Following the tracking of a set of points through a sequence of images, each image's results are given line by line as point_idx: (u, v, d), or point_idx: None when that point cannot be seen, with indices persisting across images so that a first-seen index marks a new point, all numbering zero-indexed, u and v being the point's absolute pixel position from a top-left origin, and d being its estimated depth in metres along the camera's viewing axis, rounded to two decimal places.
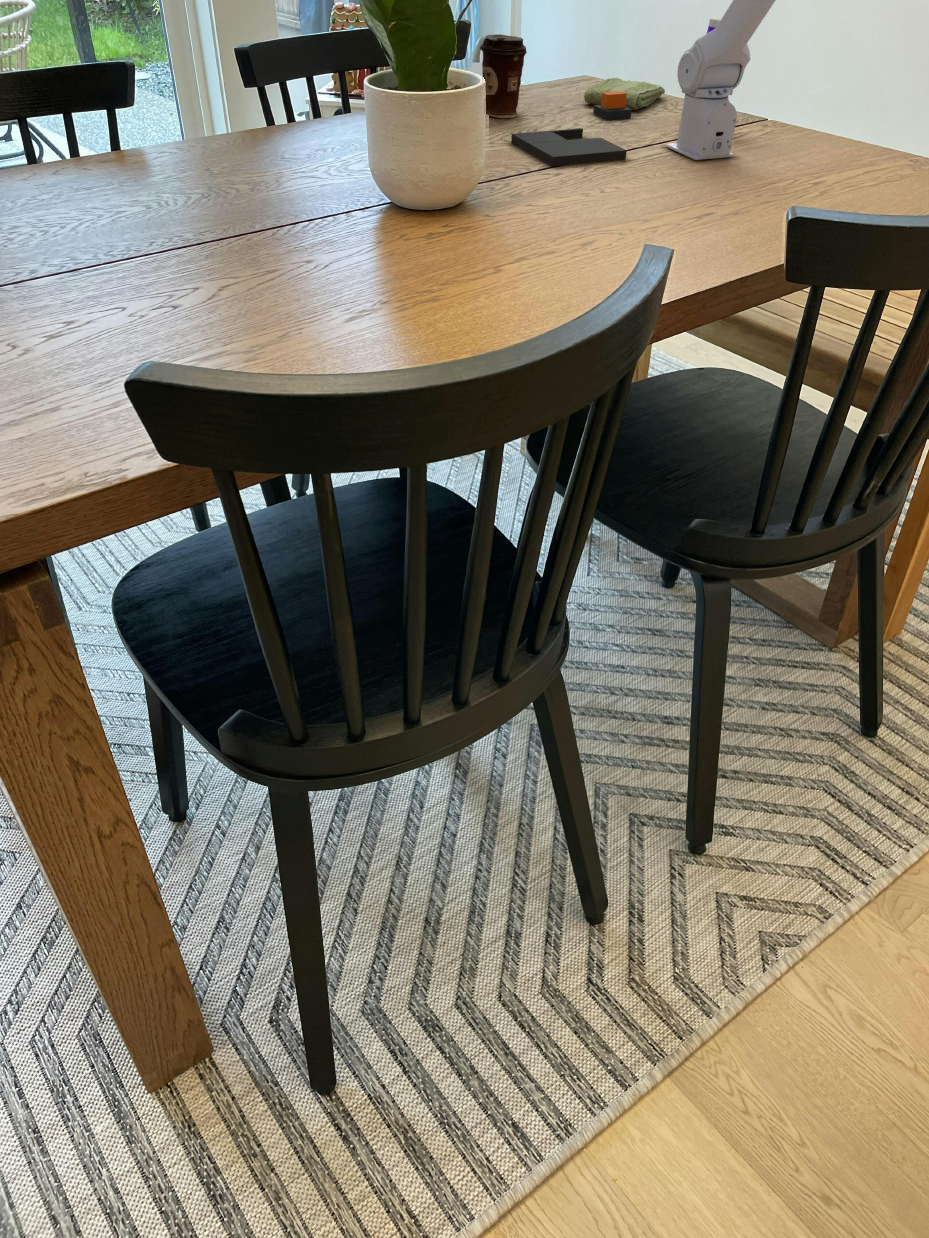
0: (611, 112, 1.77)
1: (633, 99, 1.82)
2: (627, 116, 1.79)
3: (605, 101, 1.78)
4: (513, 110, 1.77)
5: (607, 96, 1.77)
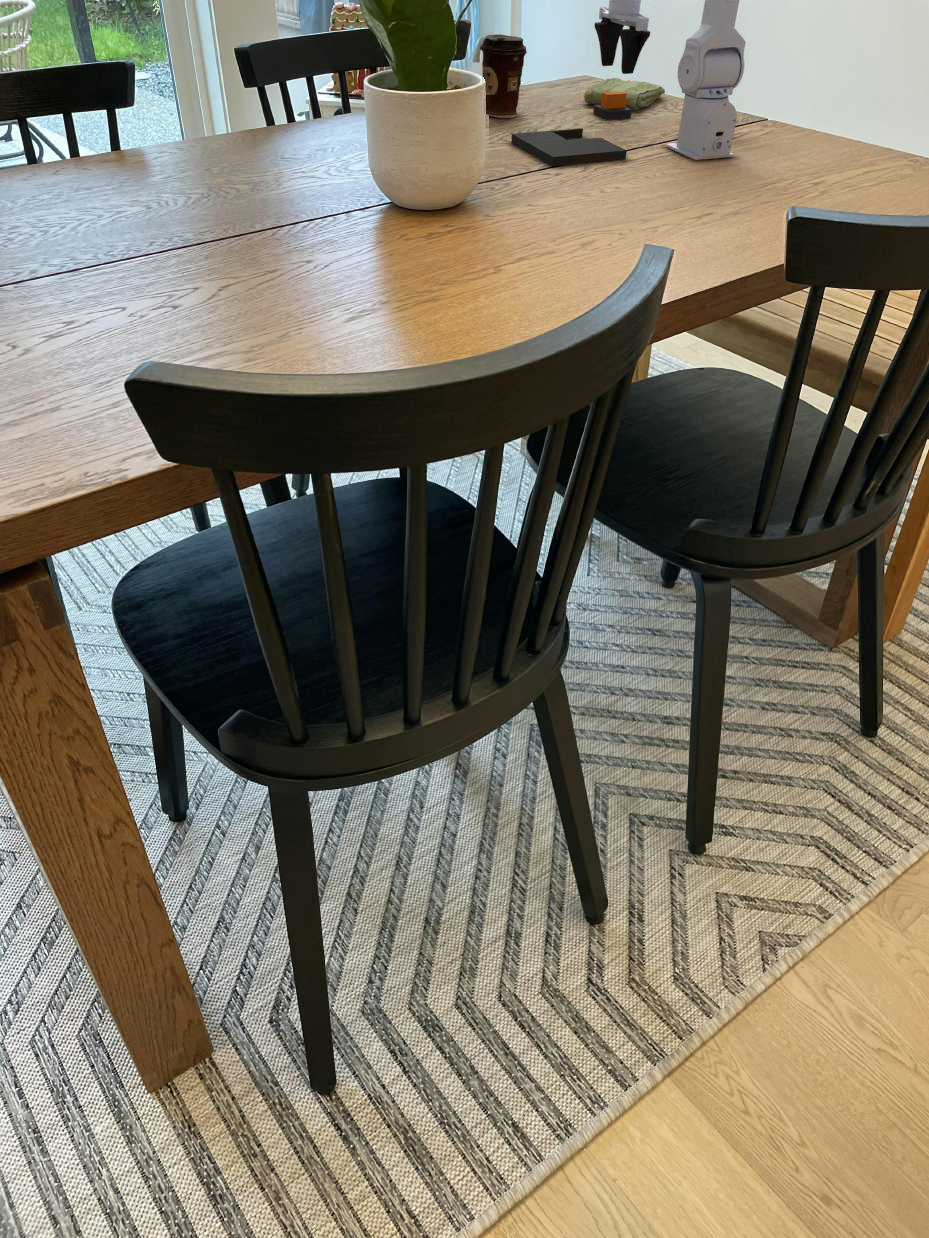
0: (611, 112, 1.77)
1: (633, 99, 1.82)
2: (627, 116, 1.79)
3: (605, 101, 1.78)
4: (513, 110, 1.77)
5: (607, 96, 1.77)
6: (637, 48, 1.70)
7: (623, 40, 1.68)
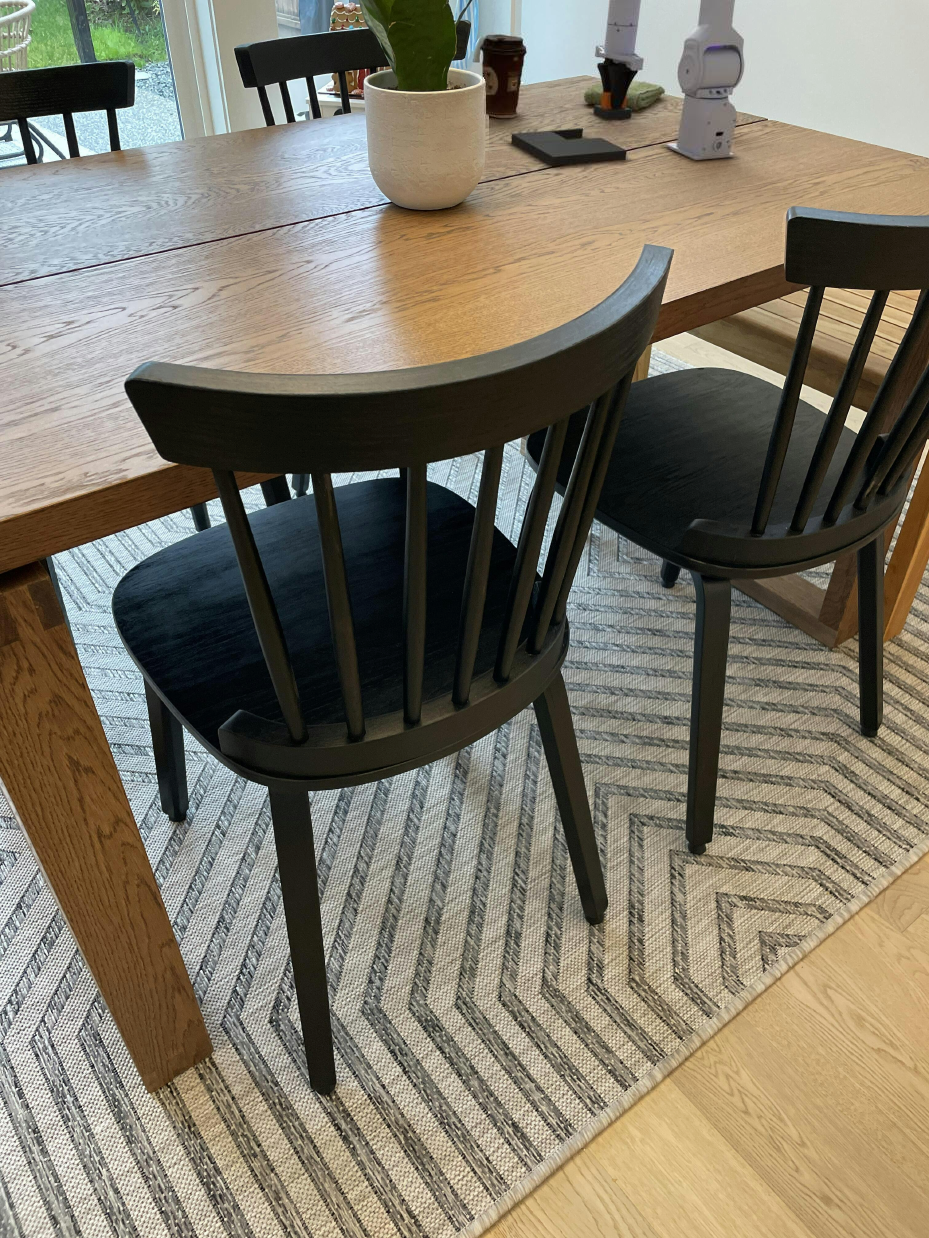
0: (611, 112, 1.77)
1: (633, 100, 1.82)
2: (627, 116, 1.79)
3: (605, 101, 1.77)
4: (513, 110, 1.77)
5: (607, 96, 1.77)
6: (625, 84, 1.76)
7: (612, 76, 1.74)
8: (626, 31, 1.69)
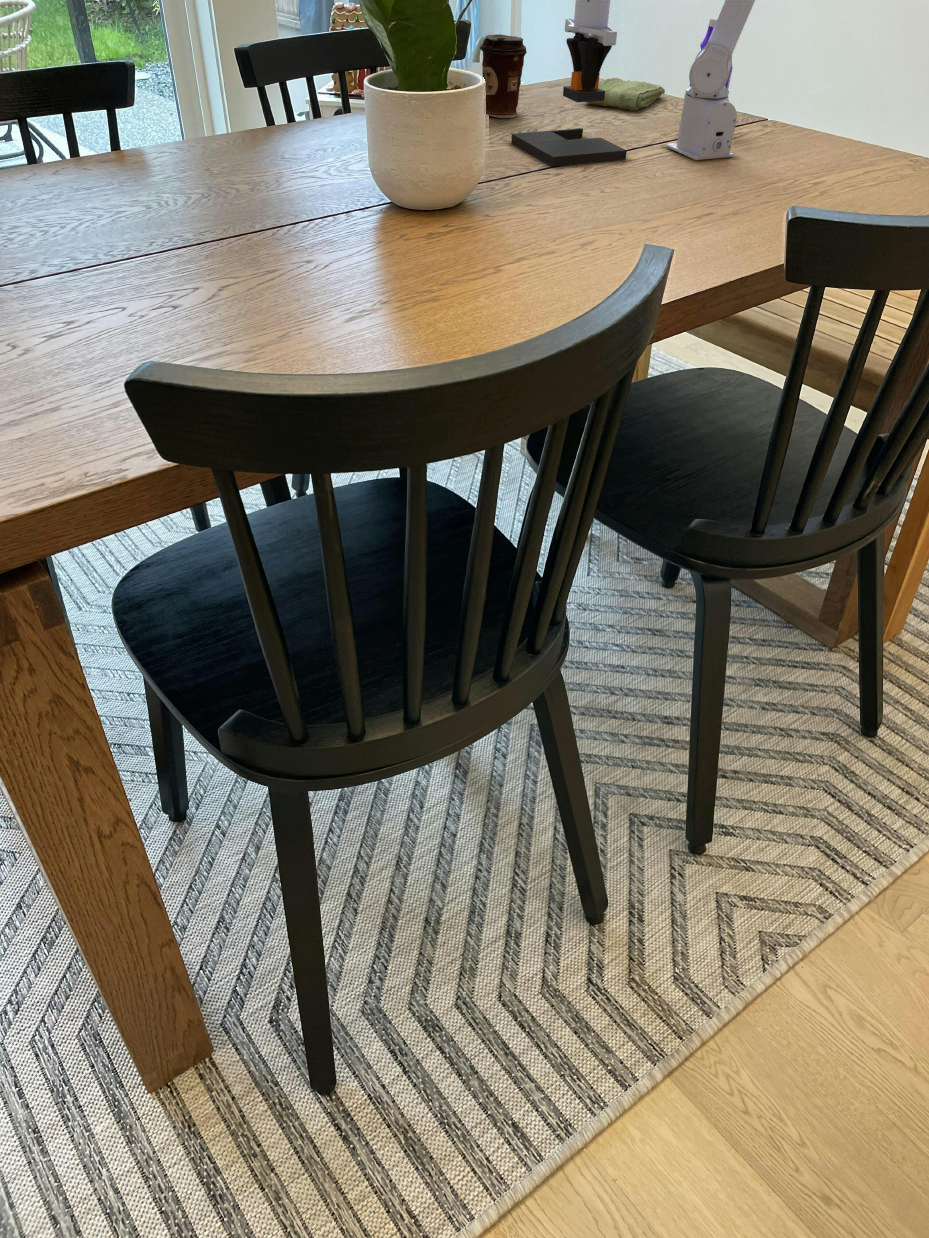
0: (582, 94, 1.58)
1: (633, 100, 1.82)
2: (600, 98, 1.59)
3: (575, 81, 1.58)
4: (513, 110, 1.77)
5: (577, 75, 1.57)
6: (598, 61, 1.56)
7: (582, 53, 1.54)
8: (597, 1, 1.49)
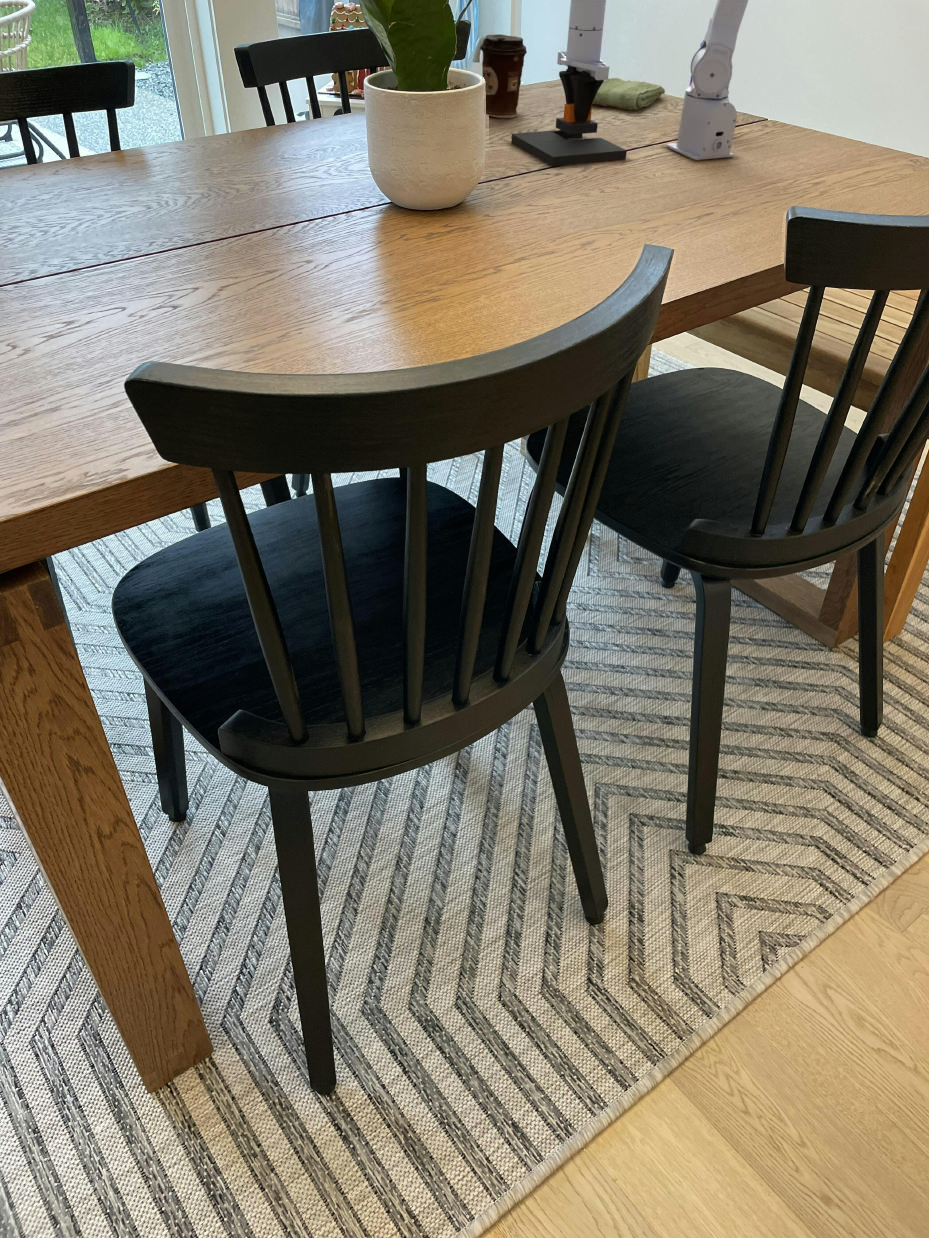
0: (574, 126, 1.59)
1: (633, 100, 1.82)
2: (593, 130, 1.60)
3: (568, 114, 1.59)
4: (513, 110, 1.77)
5: (570, 108, 1.58)
6: (590, 94, 1.57)
7: (575, 86, 1.55)
8: (590, 36, 1.50)
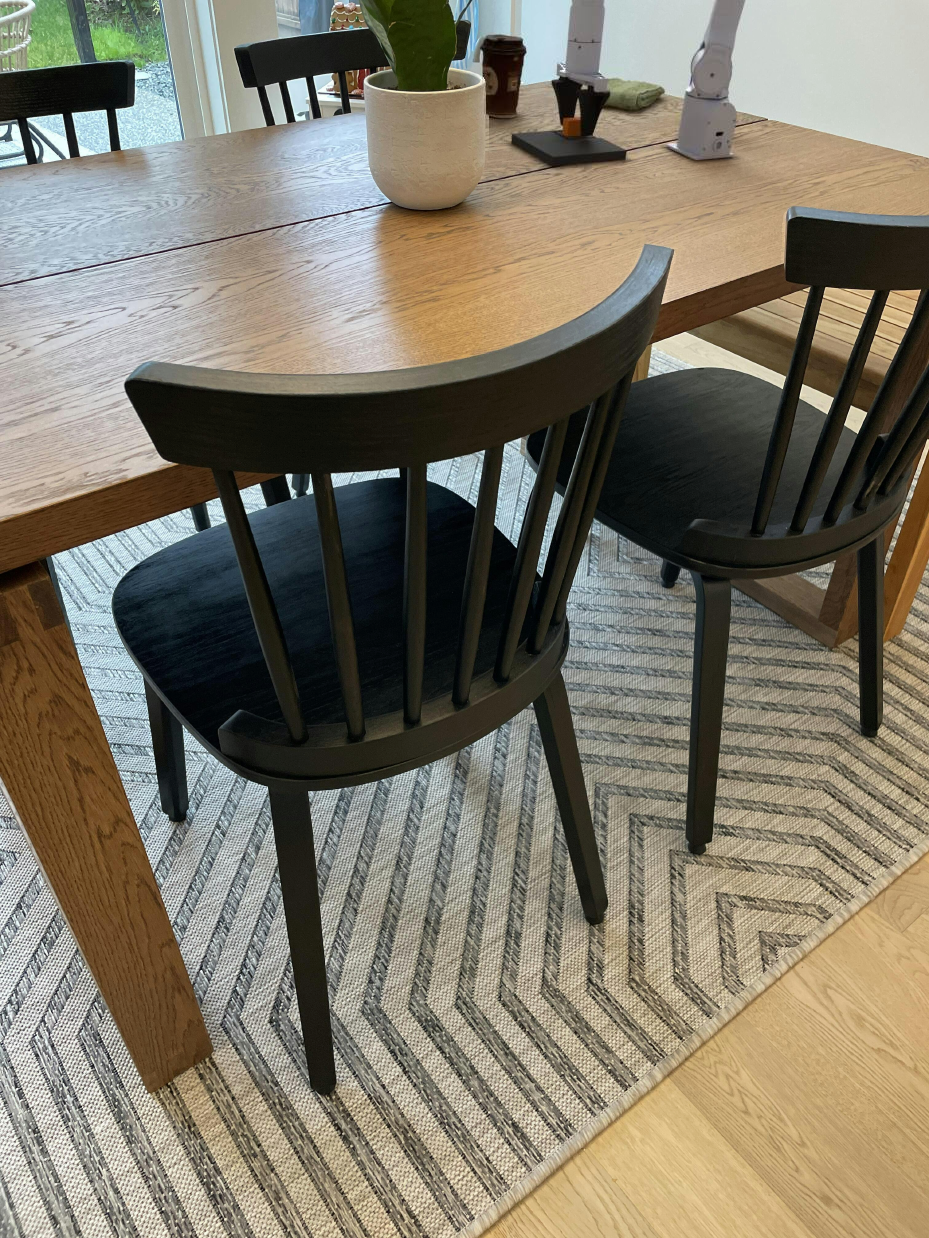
0: None
1: (633, 99, 1.82)
2: None
3: (567, 128, 1.60)
4: (513, 110, 1.77)
5: (569, 122, 1.60)
6: (597, 109, 1.57)
7: (581, 101, 1.55)
8: (588, 48, 1.52)
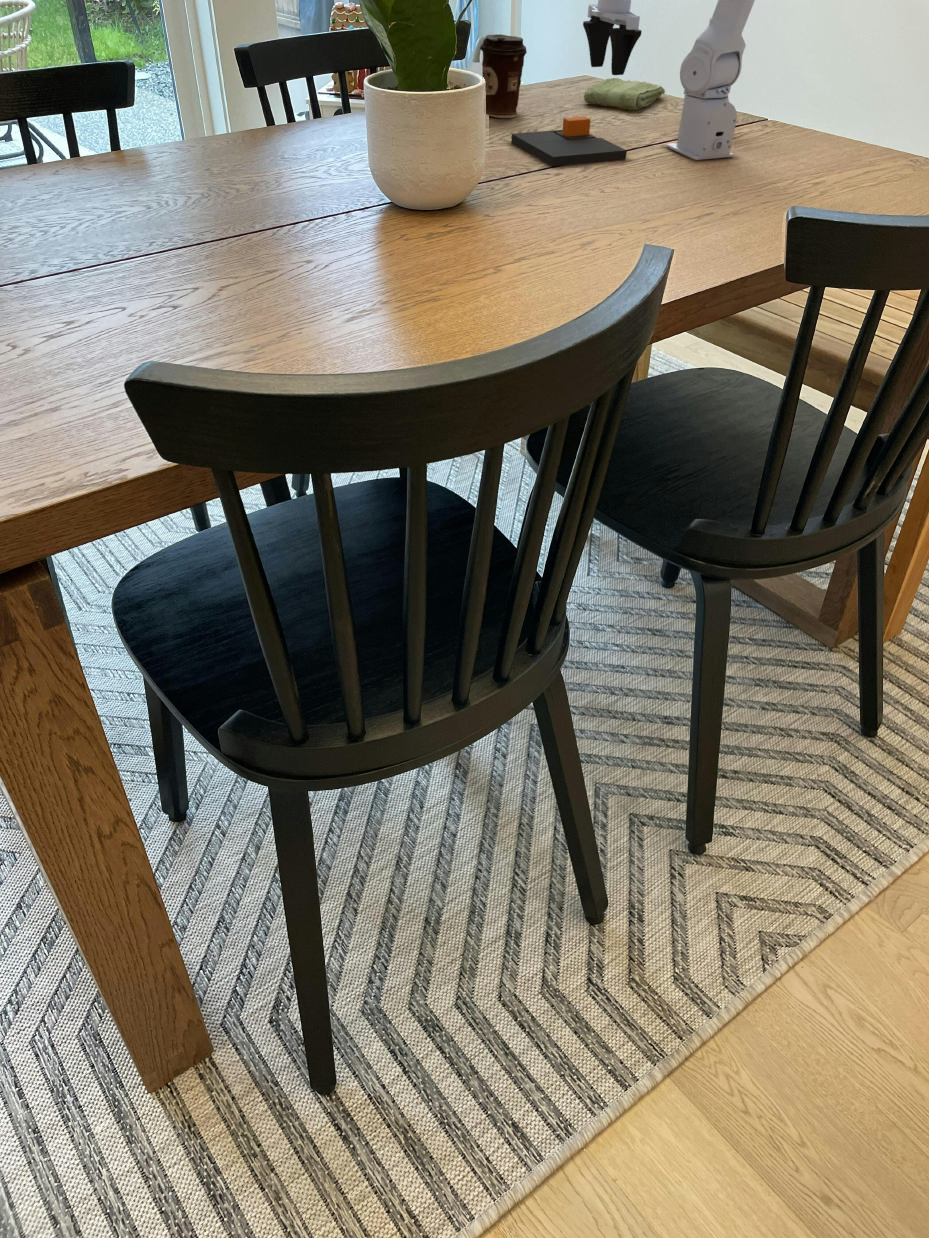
0: None
1: (633, 100, 1.82)
2: None
3: (567, 128, 1.60)
4: (513, 110, 1.77)
5: (569, 122, 1.60)
6: (628, 48, 1.61)
7: (613, 40, 1.59)
8: None
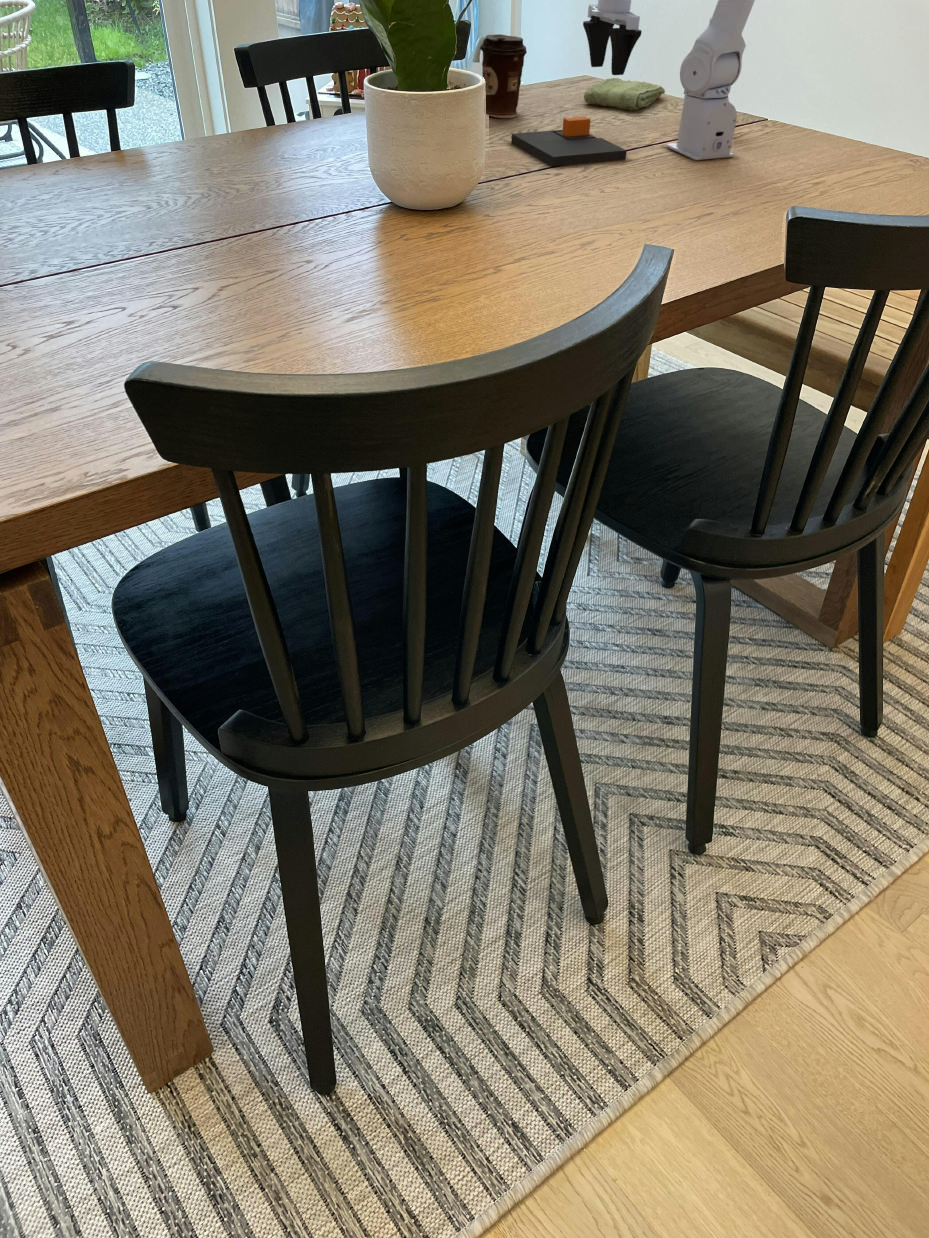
0: None
1: (633, 100, 1.82)
2: None
3: (567, 128, 1.60)
4: (513, 110, 1.77)
5: (569, 122, 1.60)
6: (628, 48, 1.61)
7: (613, 40, 1.59)
8: None
